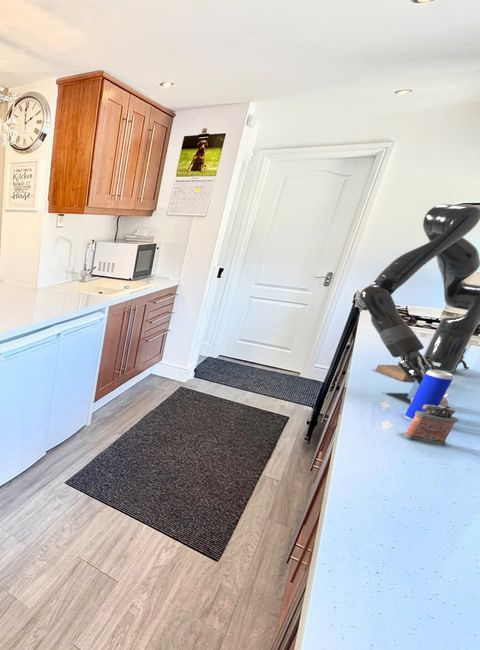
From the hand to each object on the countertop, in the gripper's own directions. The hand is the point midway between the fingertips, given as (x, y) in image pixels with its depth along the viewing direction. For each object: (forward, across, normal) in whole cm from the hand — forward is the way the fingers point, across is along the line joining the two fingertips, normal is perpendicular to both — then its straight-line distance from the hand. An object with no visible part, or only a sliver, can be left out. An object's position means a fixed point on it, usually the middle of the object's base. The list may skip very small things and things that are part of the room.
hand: (432, 387), depth 126 cm
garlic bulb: (+7, -10, +2) cm, 12 cm away
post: (+2, 0, +5) cm, 5 cm away
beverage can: (+8, -18, 0) cm, 20 cm away
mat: (+3, 0, +5) cm, 6 cm away
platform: (-8, +25, +15) cm, 30 cm away
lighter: (+13, -32, -5) cm, 35 cm away
